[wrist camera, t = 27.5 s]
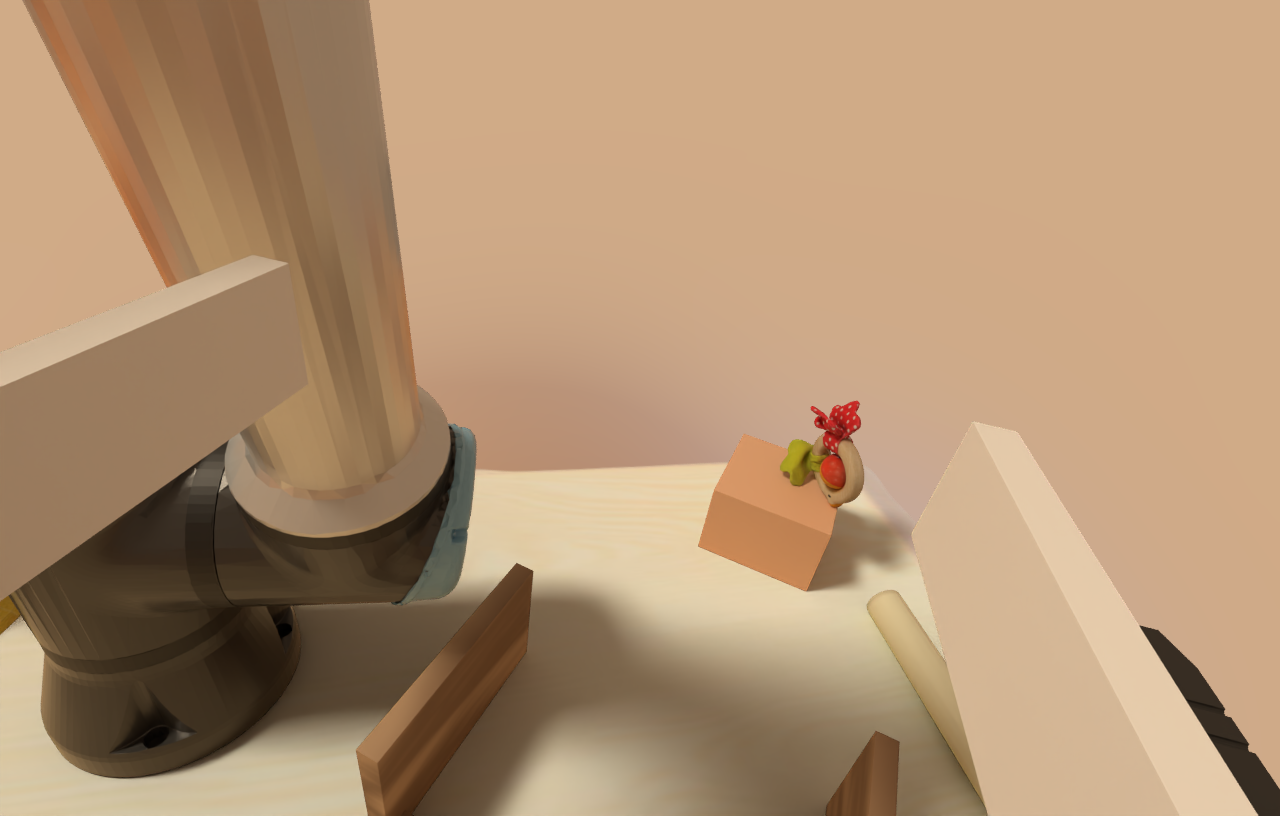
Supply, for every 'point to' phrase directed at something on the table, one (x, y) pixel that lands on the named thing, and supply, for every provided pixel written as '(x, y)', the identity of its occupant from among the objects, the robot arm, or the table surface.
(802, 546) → the terracotta stand
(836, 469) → the bird rattle
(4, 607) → the handbell
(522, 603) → the walnut slot
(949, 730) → the tan piece
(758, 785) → the table surface
